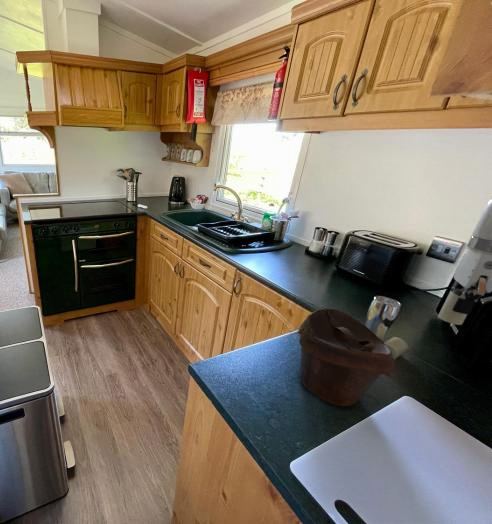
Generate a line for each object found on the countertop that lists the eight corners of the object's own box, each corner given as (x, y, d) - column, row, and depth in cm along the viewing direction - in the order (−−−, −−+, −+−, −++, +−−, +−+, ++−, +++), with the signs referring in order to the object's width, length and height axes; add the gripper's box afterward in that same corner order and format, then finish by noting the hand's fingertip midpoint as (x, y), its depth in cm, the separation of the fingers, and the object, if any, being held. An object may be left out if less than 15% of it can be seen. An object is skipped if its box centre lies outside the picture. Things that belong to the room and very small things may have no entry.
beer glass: (361, 344, 91) (378, 302, 86) (354, 333, 97) (370, 293, 92) (387, 351, 89) (406, 308, 84) (378, 339, 95) (396, 298, 90)
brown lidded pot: (361, 435, 60) (393, 365, 54) (272, 376, 75) (289, 316, 69) (388, 398, 70) (417, 336, 64) (305, 353, 85) (322, 299, 79)
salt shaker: (401, 335, 87) (388, 343, 82) (412, 351, 85) (398, 361, 80) (383, 339, 91) (370, 347, 86) (393, 355, 89) (379, 363, 85)
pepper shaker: (458, 319, 82) (473, 290, 79) (465, 327, 78) (481, 296, 75) (435, 313, 85) (449, 285, 81) (440, 320, 81) (456, 291, 77)
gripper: (529, 258, 65) (489, 326, 71) (493, 242, 79) (462, 300, 85) (483, 250, 68) (448, 316, 75) (456, 236, 82) (429, 293, 89)
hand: (456, 307), depth 80 cm, fingers closed on pepper shaker, 5 cm apart
